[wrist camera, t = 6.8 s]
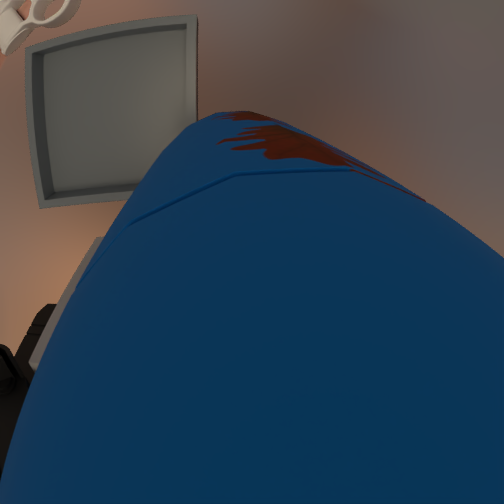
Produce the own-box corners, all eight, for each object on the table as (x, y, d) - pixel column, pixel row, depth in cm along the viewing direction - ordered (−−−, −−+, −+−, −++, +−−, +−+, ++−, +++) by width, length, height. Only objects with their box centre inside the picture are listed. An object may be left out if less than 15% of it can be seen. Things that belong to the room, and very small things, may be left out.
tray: (199, 185, 38) (198, 195, 34) (52, 197, 35) (39, 208, 32) (198, 22, 28) (196, 14, 25) (40, 50, 26) (25, 47, 22)
